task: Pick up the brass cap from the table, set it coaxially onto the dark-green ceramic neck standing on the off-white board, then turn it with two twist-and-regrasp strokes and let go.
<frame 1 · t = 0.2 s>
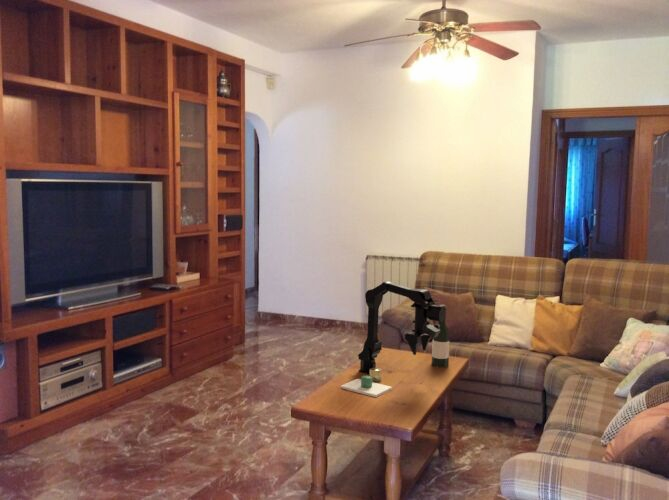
hand: (419, 352, 274), 14 cm above the table, fingers open, 9 cm apart
cap: (375, 380, 279), on the table
neck block: (366, 388, 267), on the table
wine bottle: (439, 365, 305), on the table
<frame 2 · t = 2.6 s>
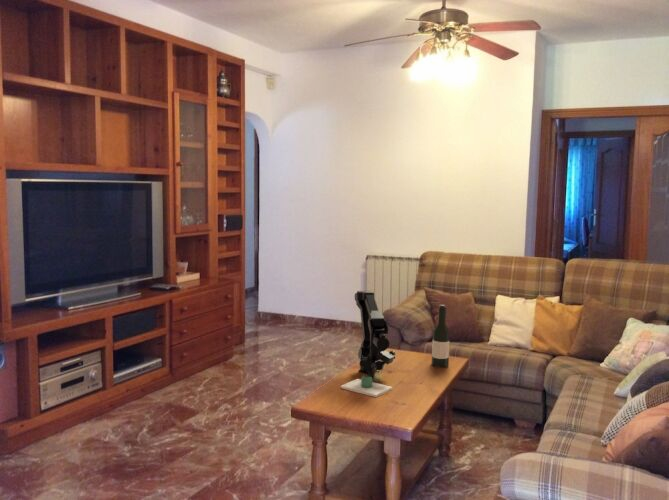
hand: (375, 378, 279), 1 cm above the table, fingers closed on cap, 5 cm apart
cap: (375, 380, 279), on the table, touching gripper
everything else where it was.
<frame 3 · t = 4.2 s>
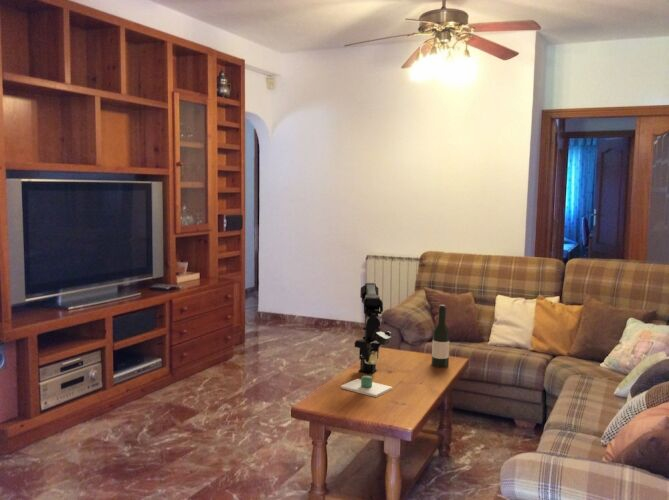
hand: (370, 360, 269), 12 cm above the table, fingers closed on cap, 5 cm apart
cap: (370, 362, 269), point 11 cm above the table, touching gripper
everything else where it was.
when the fingers open (7 cm above the table, at t = 5.6 s): cap stays where it is, resting on neck block.
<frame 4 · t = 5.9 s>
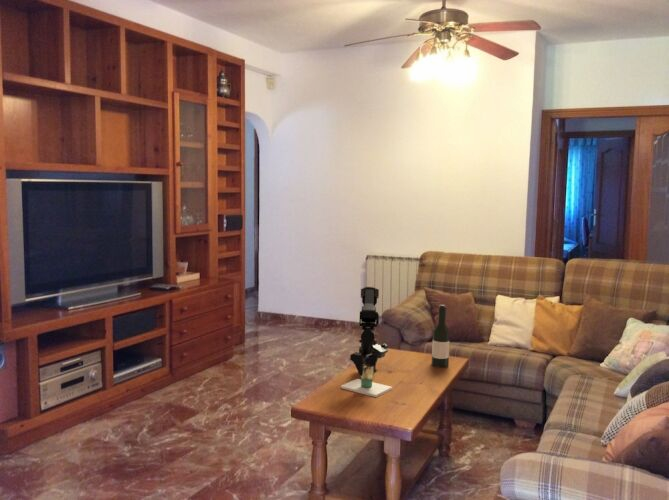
hand: (366, 372, 267), 7 cm above the table, fingers open, 9 cm apart
cap: (366, 377, 267), point 5 cm above the table, touching neck block
everything else where it was.
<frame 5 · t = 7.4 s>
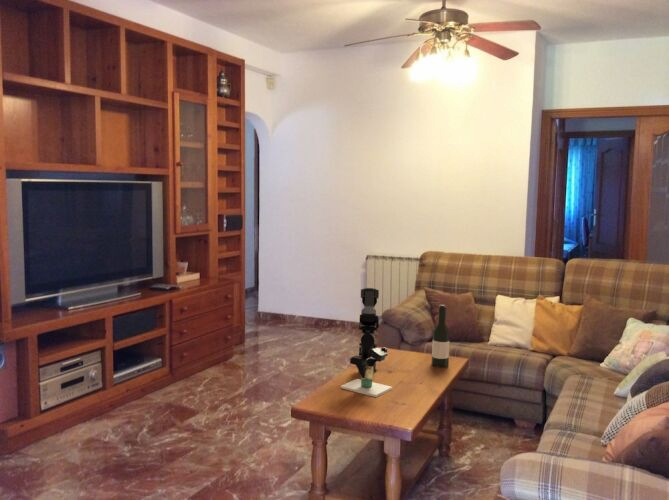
hand: (366, 376, 267), 6 cm above the table, fingers closed on cap, 5 cm apart
cap: (366, 377, 267), point 5 cm above the table, touching gripper, neck block
everything else where it was.
when the fingers open (5 cm above the table, at t = 8.5 s): cap stays where it is, resting on neck block.
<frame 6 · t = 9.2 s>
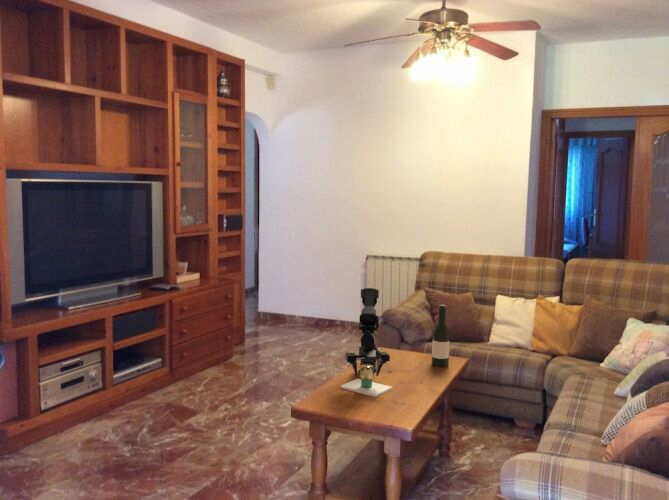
hand: (366, 376, 267), 5 cm above the table, fingers open, 9 cm apart
cap: (366, 377, 267), point 5 cm above the table, touching neck block
everything else where it was.
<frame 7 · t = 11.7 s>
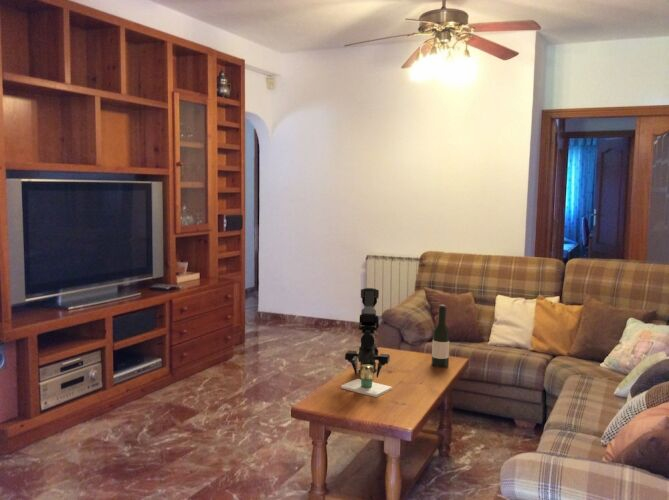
hand: (366, 376, 267), 5 cm above the table, fingers open, 9 cm apart
nothing on the table moved.
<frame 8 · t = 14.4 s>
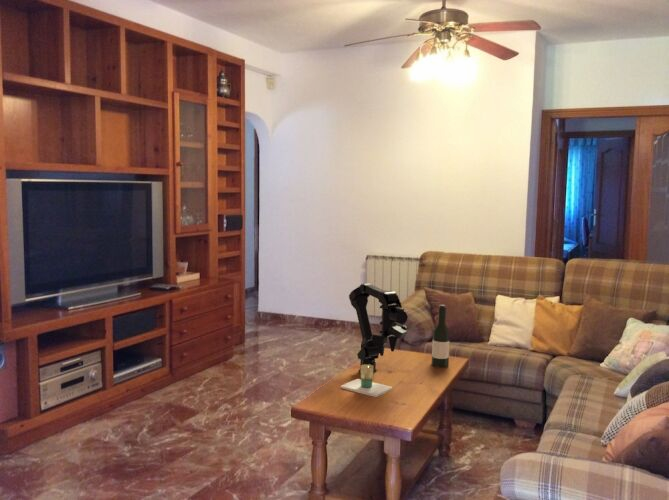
hand: (387, 353, 277), 13 cm above the table, fingers open, 9 cm apart
nothing on the table moved.
at the end: cap 0.0 cm off-centre on the neck block, point 5.0 cm above the neck block's base; cap tilted 0°; the gripper is holding nothing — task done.
